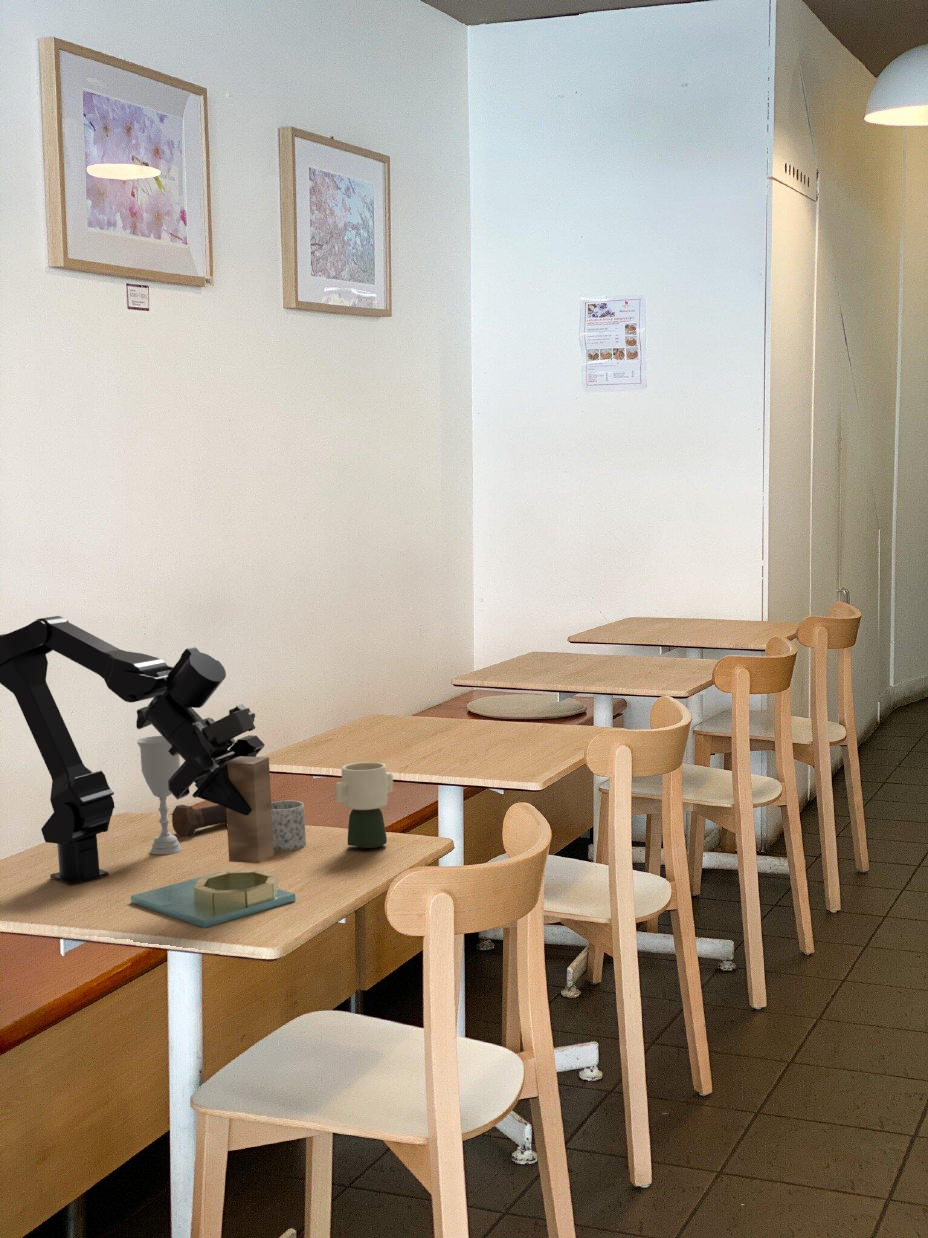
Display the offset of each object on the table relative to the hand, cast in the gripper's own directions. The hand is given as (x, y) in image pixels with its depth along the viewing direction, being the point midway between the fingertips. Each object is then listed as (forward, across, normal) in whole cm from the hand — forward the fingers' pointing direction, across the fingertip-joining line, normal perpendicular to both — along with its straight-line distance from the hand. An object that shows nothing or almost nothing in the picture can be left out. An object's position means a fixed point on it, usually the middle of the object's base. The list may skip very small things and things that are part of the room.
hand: (257, 809), depth 194 cm
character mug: (+12, +27, +6) cm, 30 cm away
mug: (+2, +24, +16) cm, 29 cm away
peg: (+4, 0, +6) cm, 7 cm away
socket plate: (+5, -4, +13) cm, 14 cm away
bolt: (-10, +35, +28) cm, 46 cm away
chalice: (-10, +20, +28) cm, 36 cm away
